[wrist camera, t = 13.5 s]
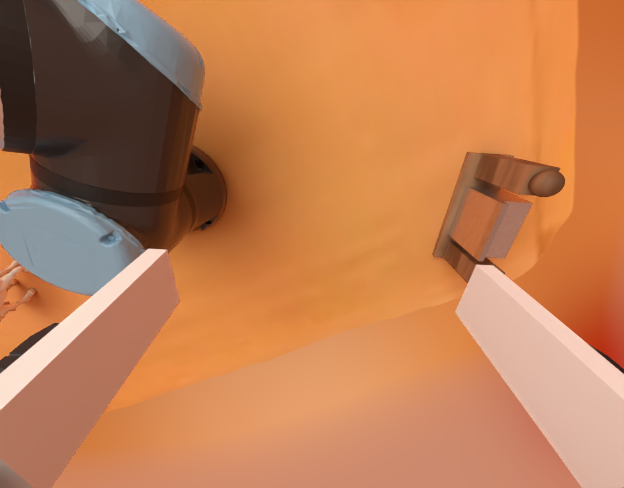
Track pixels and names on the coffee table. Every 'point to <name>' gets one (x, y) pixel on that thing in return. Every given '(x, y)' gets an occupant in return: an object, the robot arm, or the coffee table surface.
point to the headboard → (498, 175)
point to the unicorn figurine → (5, 283)
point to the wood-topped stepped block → (487, 221)
